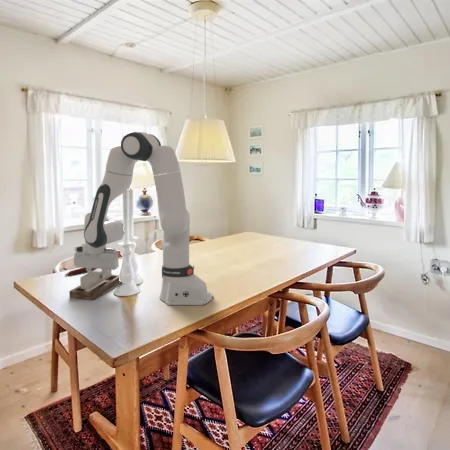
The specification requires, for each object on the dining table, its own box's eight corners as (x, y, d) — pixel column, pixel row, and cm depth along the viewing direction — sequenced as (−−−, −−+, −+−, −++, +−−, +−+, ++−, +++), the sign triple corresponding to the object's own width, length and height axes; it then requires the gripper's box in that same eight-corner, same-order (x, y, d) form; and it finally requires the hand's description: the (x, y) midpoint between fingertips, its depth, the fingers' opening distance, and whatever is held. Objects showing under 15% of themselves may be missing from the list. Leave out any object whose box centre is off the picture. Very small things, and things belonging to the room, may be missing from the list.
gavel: (69, 272, 177) (60, 268, 184) (70, 281, 178) (61, 277, 185) (107, 262, 193) (97, 258, 199) (108, 270, 194) (98, 266, 200)
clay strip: (111, 275, 171) (111, 265, 171) (89, 289, 152) (89, 278, 151) (103, 275, 172) (103, 265, 171) (80, 288, 152) (80, 277, 152)
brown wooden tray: (122, 281, 174) (122, 275, 174) (93, 300, 149) (93, 293, 148) (102, 279, 176) (101, 273, 176) (69, 298, 151) (69, 291, 151)
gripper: (120, 247, 161) (121, 277, 163) (79, 244, 164) (80, 273, 166) (113, 250, 154) (114, 281, 157) (71, 247, 158) (72, 277, 160)
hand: (96, 277), depth 162 cm, fingers closed on clay strip, 4 cm apart
